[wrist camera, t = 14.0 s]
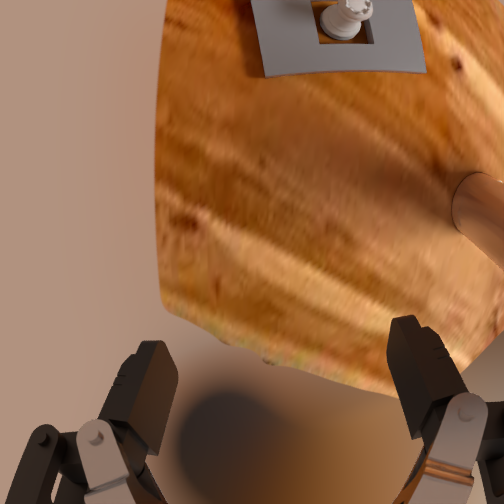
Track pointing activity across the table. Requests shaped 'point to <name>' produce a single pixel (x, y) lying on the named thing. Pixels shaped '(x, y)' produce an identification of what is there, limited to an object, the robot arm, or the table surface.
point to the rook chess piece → (345, 18)
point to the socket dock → (337, 55)
